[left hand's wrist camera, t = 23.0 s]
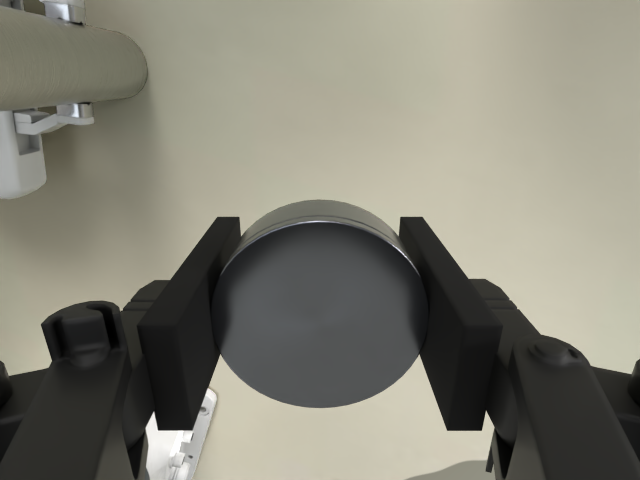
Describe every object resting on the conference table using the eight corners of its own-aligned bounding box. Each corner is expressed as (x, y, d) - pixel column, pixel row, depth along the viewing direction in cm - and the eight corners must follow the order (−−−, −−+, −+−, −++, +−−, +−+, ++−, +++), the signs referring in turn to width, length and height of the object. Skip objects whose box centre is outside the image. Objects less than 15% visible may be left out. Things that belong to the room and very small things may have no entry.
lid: (375, 166, 10) (386, 182, 9) (437, 330, 12) (456, 370, 11) (190, 244, 11) (167, 273, 10) (276, 387, 13) (269, 432, 12)
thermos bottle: (96, 102, 34) (-149, 128, 16) (75, 36, 32) (-229, -17, 14) (155, 94, 34) (-29, 112, 16) (137, 27, 32) (-94, -39, 14)
